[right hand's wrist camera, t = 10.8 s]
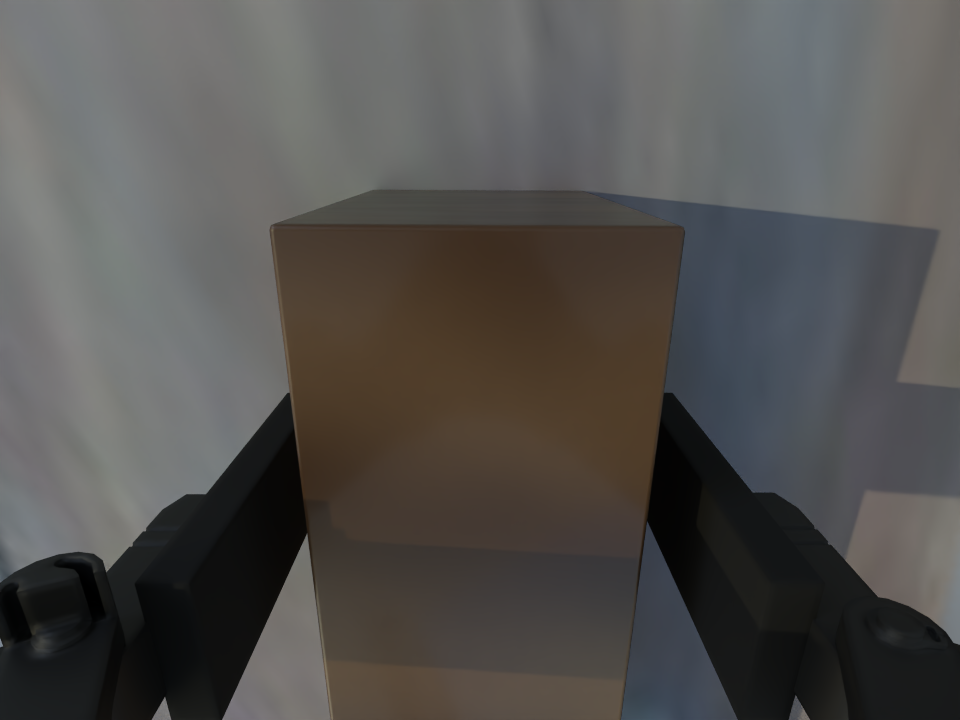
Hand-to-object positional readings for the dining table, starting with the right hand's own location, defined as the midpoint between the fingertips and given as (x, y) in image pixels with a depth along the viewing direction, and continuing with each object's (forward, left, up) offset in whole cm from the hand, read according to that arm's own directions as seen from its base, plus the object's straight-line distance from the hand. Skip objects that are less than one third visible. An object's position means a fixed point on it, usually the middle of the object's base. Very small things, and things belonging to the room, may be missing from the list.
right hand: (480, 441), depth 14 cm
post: (+14, +24, -3) cm, 28 cm away
